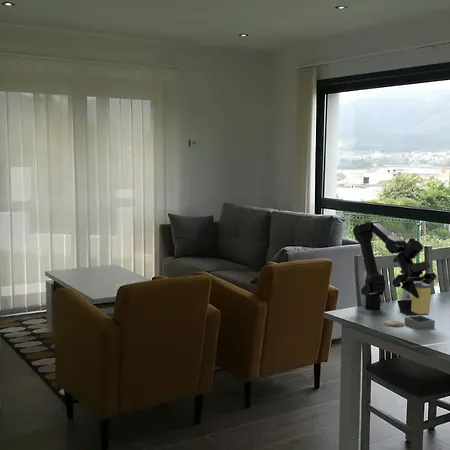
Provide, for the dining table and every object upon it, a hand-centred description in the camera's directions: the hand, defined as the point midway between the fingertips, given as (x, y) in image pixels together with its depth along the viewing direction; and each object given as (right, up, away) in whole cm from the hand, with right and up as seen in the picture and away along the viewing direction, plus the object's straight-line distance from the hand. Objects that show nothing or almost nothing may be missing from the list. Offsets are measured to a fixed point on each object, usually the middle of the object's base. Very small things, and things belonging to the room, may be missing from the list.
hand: (423, 297), depth 242 cm
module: (-1, -6, +2) cm, 7 cm away
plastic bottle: (+4, -9, +34) cm, 36 cm away
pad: (-11, -12, +4) cm, 17 cm away
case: (-2, -12, +7) cm, 14 cm away
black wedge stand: (+3, -11, +23) cm, 26 cm away
